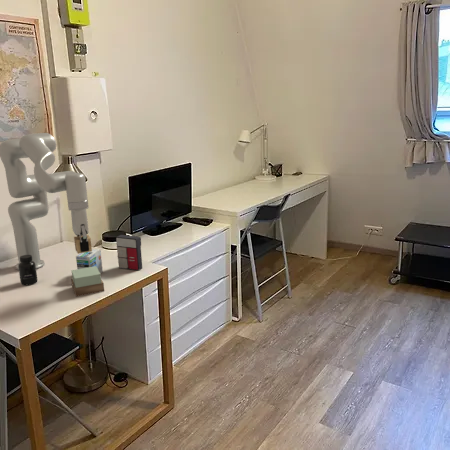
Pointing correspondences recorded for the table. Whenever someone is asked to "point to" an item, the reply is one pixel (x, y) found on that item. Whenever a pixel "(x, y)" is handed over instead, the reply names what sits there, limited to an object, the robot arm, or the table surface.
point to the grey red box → (129, 252)
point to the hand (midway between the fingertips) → (83, 248)
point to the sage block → (86, 276)
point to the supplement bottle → (27, 270)
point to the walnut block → (88, 289)
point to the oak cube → (77, 244)
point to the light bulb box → (90, 260)
